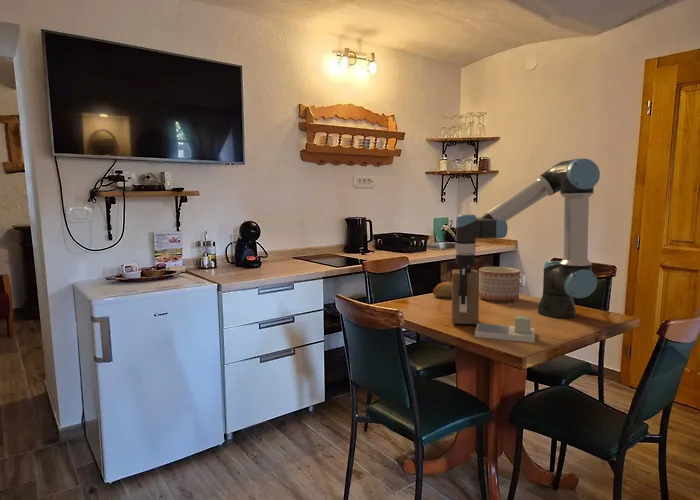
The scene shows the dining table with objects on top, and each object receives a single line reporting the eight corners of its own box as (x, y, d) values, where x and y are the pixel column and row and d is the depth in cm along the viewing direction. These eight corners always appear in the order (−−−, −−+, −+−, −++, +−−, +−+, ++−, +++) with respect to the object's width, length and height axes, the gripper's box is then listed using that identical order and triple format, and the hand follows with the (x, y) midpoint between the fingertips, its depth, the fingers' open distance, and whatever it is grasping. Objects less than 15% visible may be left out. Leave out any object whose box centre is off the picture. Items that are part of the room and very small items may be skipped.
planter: (524, 298, 230) (526, 269, 229) (509, 305, 216) (510, 274, 214) (488, 293, 243) (489, 265, 241) (471, 299, 229) (472, 269, 227)
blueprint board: (533, 333, 171) (533, 327, 171) (534, 342, 160) (534, 336, 160) (477, 328, 178) (477, 322, 178) (474, 336, 167) (474, 331, 167)
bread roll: (433, 294, 240) (433, 279, 240) (463, 296, 237) (463, 280, 236) (432, 298, 231) (432, 282, 230) (463, 300, 227) (463, 284, 227)
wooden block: (478, 324, 180) (479, 273, 178) (452, 323, 182) (452, 273, 180) (476, 318, 189) (477, 269, 187) (451, 317, 191) (452, 269, 189)
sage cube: (529, 329, 168) (530, 316, 168) (529, 333, 164) (530, 319, 163) (515, 328, 170) (515, 315, 169) (514, 332, 165) (515, 318, 165)
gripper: (459, 250, 195) (458, 302, 197) (451, 257, 173) (451, 315, 176) (477, 250, 192) (477, 303, 195) (472, 257, 171) (471, 316, 173)
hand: (464, 308), depth 185 cm, fingers closed on wooden block, 10 cm apart
